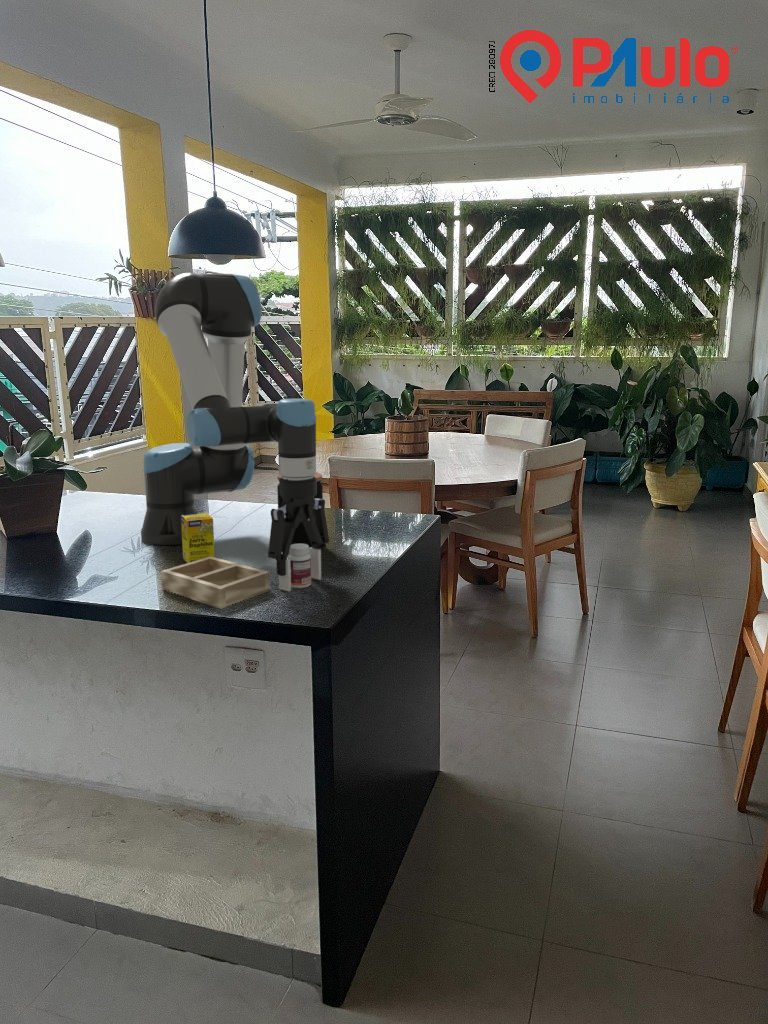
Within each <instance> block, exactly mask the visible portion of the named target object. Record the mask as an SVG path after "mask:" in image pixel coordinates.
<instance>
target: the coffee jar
mask: <svg viewBox="0 0 768 1024" xmlns="http://www.w3.org/2000/svg"><path fill="white" fill-rule="evenodd" d="M276 477H277V480H278V482H279V479H280V478H281V477H282V476H280V475H279V473H278V474H277V476H276ZM314 477H315V478H316V479H317V494H316V495H315V496H314V498H318V499H323V497H324V495H323V493H324V492H323V491H324V488H323V487H324V486H323V484H322V482H321V481H322V479H323V474H322V473H319V472H317V471H316V474H315V475H314ZM276 489H277V509H279V508H281V506H282V503H283V498H282V497H281V495H280V490H279V483H278V485H277V486H276ZM288 522H289V523H292V522H290V521H288ZM322 537H323V536H322ZM299 543H300V544H307V545H308V546H309V548H311V547H312V548H313V546H312V545H311V543H310V540H309V538H308V535H307V532H306V530H305V527H304V525H303V523H302V522H301V523H299V525H298V528H296V529H295V532H294V536H293V539H292V543H291V545H292V544H299Z"/></svg>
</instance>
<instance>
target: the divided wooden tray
mask: <svg viewBox="0 0 768 1024" xmlns="http://www.w3.org/2000/svg"><path fill="white" fill-rule="evenodd" d="M160 572H161V573H160V574H161V589H162V591H164V590H166V591H165V592H168V591H169V592H168V593H171V592H173V593H172V594H174V593H176V594H175V595H177V594H179V595H178V596H180V595H181V596H180V597H183V596H184V598H186V597H187V598H186V599H189V598H190V600H193V601H195V602H199V603H202V604H205V605H207V606H212V607H214V608H218V609H220V610H222V609H224V608H225V609H226V608H228V607H230V606H233V605H235V603H236V604H238V603H240V601H241V602H244V601H246V600H250V599H252V598H254V597H257V596H260V595H262V593H263V594H265V593H268V592H270V591H271V590H270V587H271V586H270V585H271V584H270V583H271V582H270V571H267V570H263V569H260V568H255V567H253V566H248V565H246V564H245V565H244V564H241V563H237V562H233V561H229V560H226V559H222V558H218V557H211V556H210V557H207V558H203V559H200V560H197V561H193V562H190V563H183V564H180V565H177V566H173V567H170V568H167V569H163V570H160ZM245 599H246V600H245ZM243 600H244V601H243ZM232 604H233V605H232ZM229 605H230V606H229ZM227 606H228V607H227Z"/></svg>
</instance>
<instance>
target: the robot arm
mask: <svg viewBox="0 0 768 1024" xmlns="http://www.w3.org/2000/svg"><path fill="white" fill-rule="evenodd" d="M261 302H262V301H261V297H260V293H259V291H258V287H257V285H256V284H255V282H254V281H253V280H252V279H251V278H250V277H248V276H246V275H241V274H234V273H195V272H184V273H180V274H177V275H176V276H174V277H172V278H171V279H169V280H167V282H166V283H165V284H164V285H163V286H162V288H161V289H160V291H159V292H158V294H157V297H156V301H155V305H154V316H155V317H154V319H155V321H156V324H157V327H158V330H159V331H160V333H161V334H162V335H163V336H164V337H166V339H167V341H168V345H169V347H170V350H171V352H172V355H173V358H174V359H173V360H174V361H175V364H176V366H177V367H176V368H177V369H178V370H177V371H178V373H179V375H180V378H181V380H182V384H183V387H184V389H185V392H186V396H187V398H188V400H189V401H188V402H189V404H190V405H191V409H190V410H189V411H188V413H187V416H186V430H187V436H188V440H189V441H190V443H191V444H190V443H188V442H178V443H177V442H174V443H168V444H163V445H158V446H154V447H153V448H150V449H148V450H147V451H146V452H145V453H144V456H143V469H142V471H143V474H144V475H143V476H144V486H145V487H144V488H145V489H144V490H145V502H146V503H145V504H146V510H145V515H144V517H143V522H142V523H143V524H142V527H141V529H140V535H141V536H140V537H141V541H142V542H143V543H145V544H149V545H156V546H173V545H174V546H176V545H182V525H181V515H191V514H198V512H197V509H196V506H195V505H196V504H195V496H196V495H205V494H215V493H216V494H217V493H226V492H228V493H232V492H234V491H241V490H243V489H246V488H247V487H248V486H249V485H250V483H251V482H252V479H253V477H254V473H255V460H254V451H253V449H252V448H251V446H250V445H248V444H260V443H261V444H262V443H272V442H273V443H277V445H278V446H277V447H278V450H277V451H278V474H279V475H280V476H282V477H281V478H280V479H279V481H278V484H279V490H280V495H281V497H282V498H283V503H282V506H281V508H279V509H278V508H277V509H276V508H272V509H271V510H270V519H271V522H270V524H271V525H270V532H269V533H270V534H269V541H268V542H269V543H268V551H267V552H268V553H267V557H268V558H269V559H273V560H275V563H276V565H275V566H276V574H277V576H278V589H279V590H282V591H285V592H291V591H292V587H291V566H290V560H289V559H288V556H289V554H290V553H289V550H290V546H291V543H292V539H293V536H294V532H295V529H296V528H298V525H299V523H301V522H302V523H303V525H304V527H305V530H306V532H307V535H308V538H309V540H310V543H311V545H312V546H313V548H312V547H311V548H309V553H308V554H310V556H311V579H314V580H322V562H323V550H326V548H327V544H329V542H330V536H329V531H328V524H327V519H326V518H327V517H326V511H325V509H326V507H325V506H326V500H325V499H318V498H314V496H315V495H316V494H317V479H316V478H315V477H314V475H315V474H316V472H317V415H316V404H315V402H314V400H312V399H310V398H302V397H301V398H298V397H297V398H283V399H280V400H278V402H277V403H265V404H262V405H255V406H252V405H251V406H243V394H244V393H243V389H244V363H245V342H246V341H247V340H248V339H249V338H250V337H251V336H252V328H255V327H258V326H259V325H260V323H261V319H262V303H261ZM205 337H206V339H207V341H206V339H205ZM192 445H193V446H195V447H197V448H193V446H192ZM288 521H290V522H292V523H289V522H288ZM322 536H323V537H322Z"/></svg>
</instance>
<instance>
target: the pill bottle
mask: <svg viewBox="0 0 768 1024" xmlns="http://www.w3.org/2000/svg"><path fill="white" fill-rule="evenodd" d="M287 559H289V560H290V566H291V588H295V589H303V588H304V589H305V588H308V587H309V586H311V585H312V578H311V556H310V554H309V546H308V545H307V544H300V543H299V544H292V545H291V546H290V550H289V554H288V557H287Z"/></svg>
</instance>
